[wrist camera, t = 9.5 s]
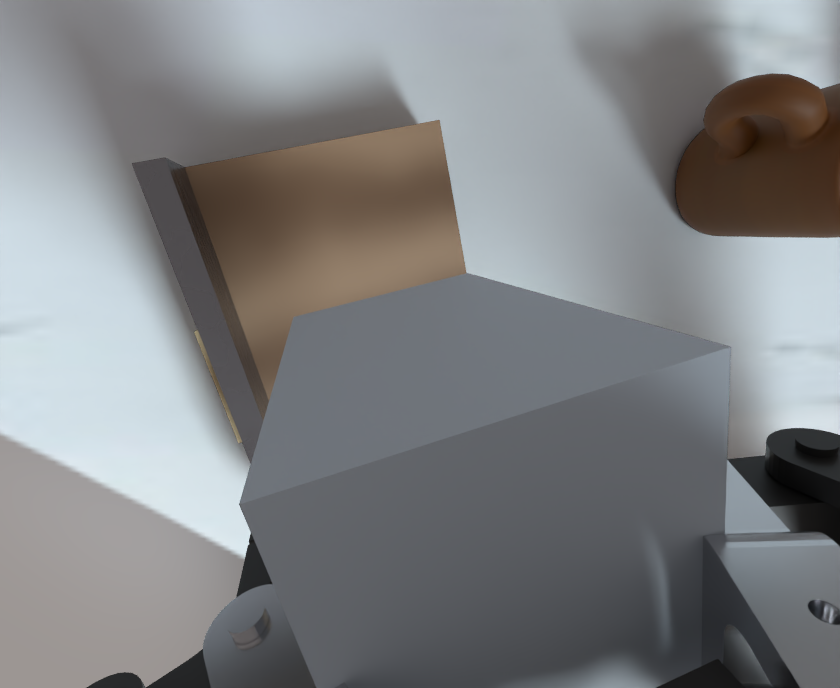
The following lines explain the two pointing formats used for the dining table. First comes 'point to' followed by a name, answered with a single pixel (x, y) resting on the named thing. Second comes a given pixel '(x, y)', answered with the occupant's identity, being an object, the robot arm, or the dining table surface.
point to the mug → (765, 161)
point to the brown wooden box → (299, 243)
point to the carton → (490, 490)
